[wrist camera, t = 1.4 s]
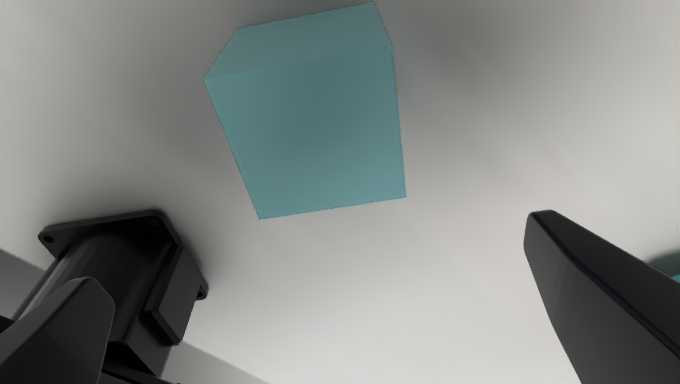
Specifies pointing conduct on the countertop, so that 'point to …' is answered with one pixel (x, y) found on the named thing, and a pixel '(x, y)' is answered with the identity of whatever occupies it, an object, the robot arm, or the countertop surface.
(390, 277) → the countertop surface
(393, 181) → the teal cube
